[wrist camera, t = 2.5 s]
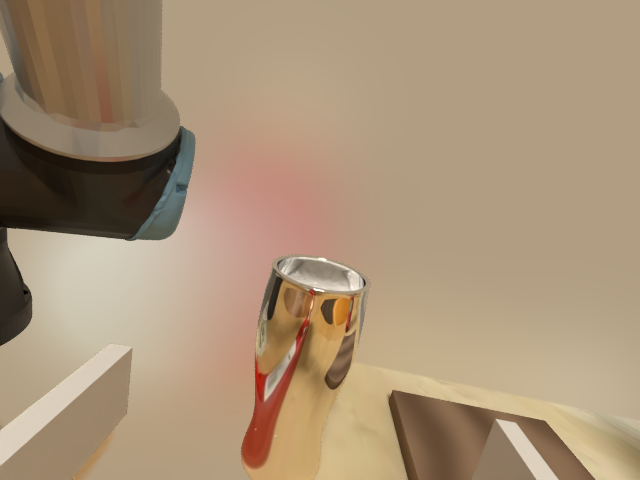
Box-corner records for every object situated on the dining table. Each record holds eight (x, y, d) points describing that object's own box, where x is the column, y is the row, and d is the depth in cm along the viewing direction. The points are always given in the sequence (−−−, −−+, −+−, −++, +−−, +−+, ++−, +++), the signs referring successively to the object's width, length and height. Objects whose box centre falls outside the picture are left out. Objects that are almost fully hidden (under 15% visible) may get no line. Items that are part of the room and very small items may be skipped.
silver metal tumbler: (256, 406, 28) (287, 246, 24) (331, 432, 27) (375, 269, 23) (216, 479, 21) (251, 272, 18) (315, 517, 20) (372, 306, 17)
